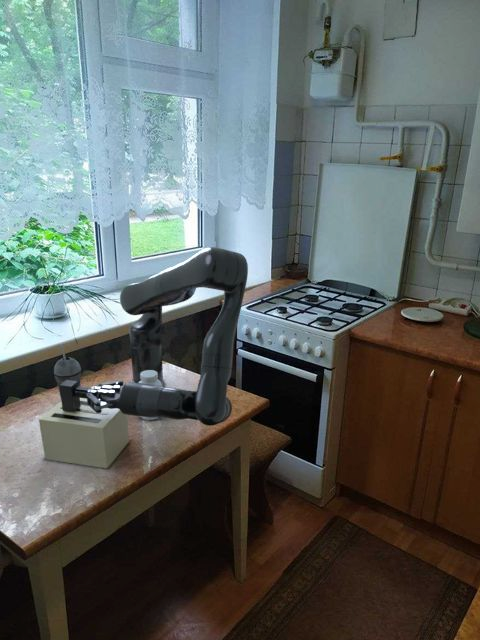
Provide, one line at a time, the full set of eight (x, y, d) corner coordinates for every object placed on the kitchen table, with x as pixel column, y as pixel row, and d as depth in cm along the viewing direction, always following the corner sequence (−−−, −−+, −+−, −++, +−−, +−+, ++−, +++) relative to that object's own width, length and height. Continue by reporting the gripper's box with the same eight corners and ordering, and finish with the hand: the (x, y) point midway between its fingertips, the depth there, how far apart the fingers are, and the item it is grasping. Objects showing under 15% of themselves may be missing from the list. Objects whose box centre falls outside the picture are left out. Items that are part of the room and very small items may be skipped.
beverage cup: (90, 403, 144) (82, 339, 137) (79, 415, 138) (70, 349, 130) (66, 401, 145) (57, 337, 137) (53, 413, 138) (44, 347, 131)
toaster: (72, 433, 129) (67, 395, 125) (129, 441, 126) (126, 402, 122) (44, 459, 118) (38, 418, 114) (107, 468, 116) (102, 427, 111)
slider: (69, 405, 120) (66, 379, 118) (80, 406, 120) (77, 381, 117) (62, 410, 117) (59, 385, 115) (74, 412, 117) (70, 386, 114)
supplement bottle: (142, 422, 135) (139, 380, 130) (136, 411, 140) (133, 370, 136) (166, 417, 138) (164, 376, 133) (159, 407, 143) (157, 366, 139)
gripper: (155, 373, 118) (88, 365, 121) (131, 398, 106) (57, 389, 109) (156, 401, 121) (91, 393, 124) (133, 428, 109) (61, 419, 112)
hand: (75, 391), depth 117 cm, fingers closed
